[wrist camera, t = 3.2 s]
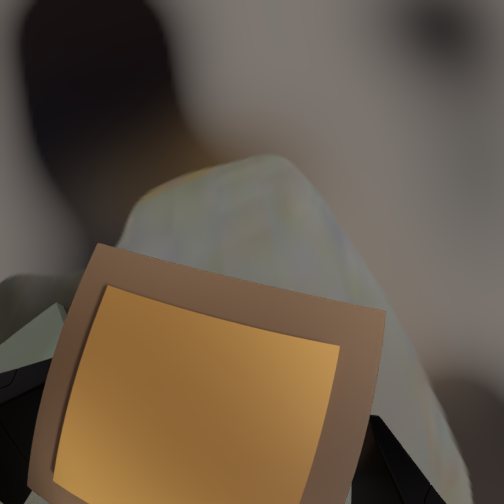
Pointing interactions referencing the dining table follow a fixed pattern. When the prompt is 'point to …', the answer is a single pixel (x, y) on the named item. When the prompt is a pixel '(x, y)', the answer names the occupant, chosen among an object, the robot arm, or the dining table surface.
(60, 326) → the sage pad
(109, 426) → the walnut box
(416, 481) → the robot arm
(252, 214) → the dining table surface
